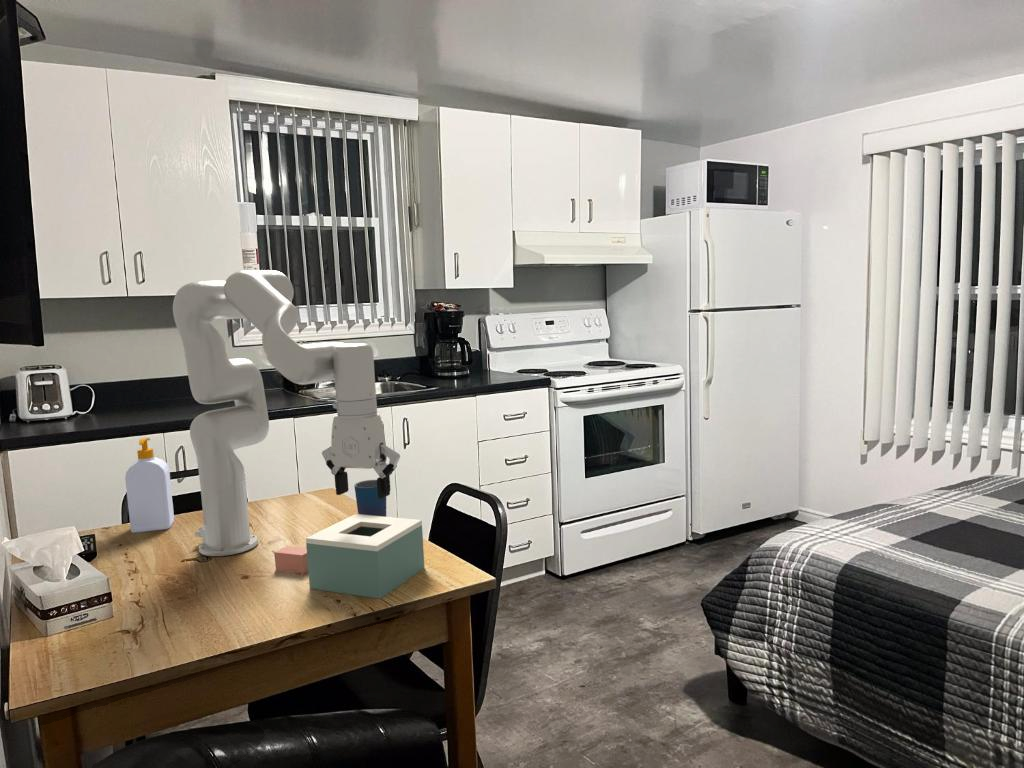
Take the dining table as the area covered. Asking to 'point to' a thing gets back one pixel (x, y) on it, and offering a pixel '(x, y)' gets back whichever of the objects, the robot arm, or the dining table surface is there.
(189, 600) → the dining table surface
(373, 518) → the green and cream box
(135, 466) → the soap bottle
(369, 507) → the cup
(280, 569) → the block
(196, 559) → the dining table surface
